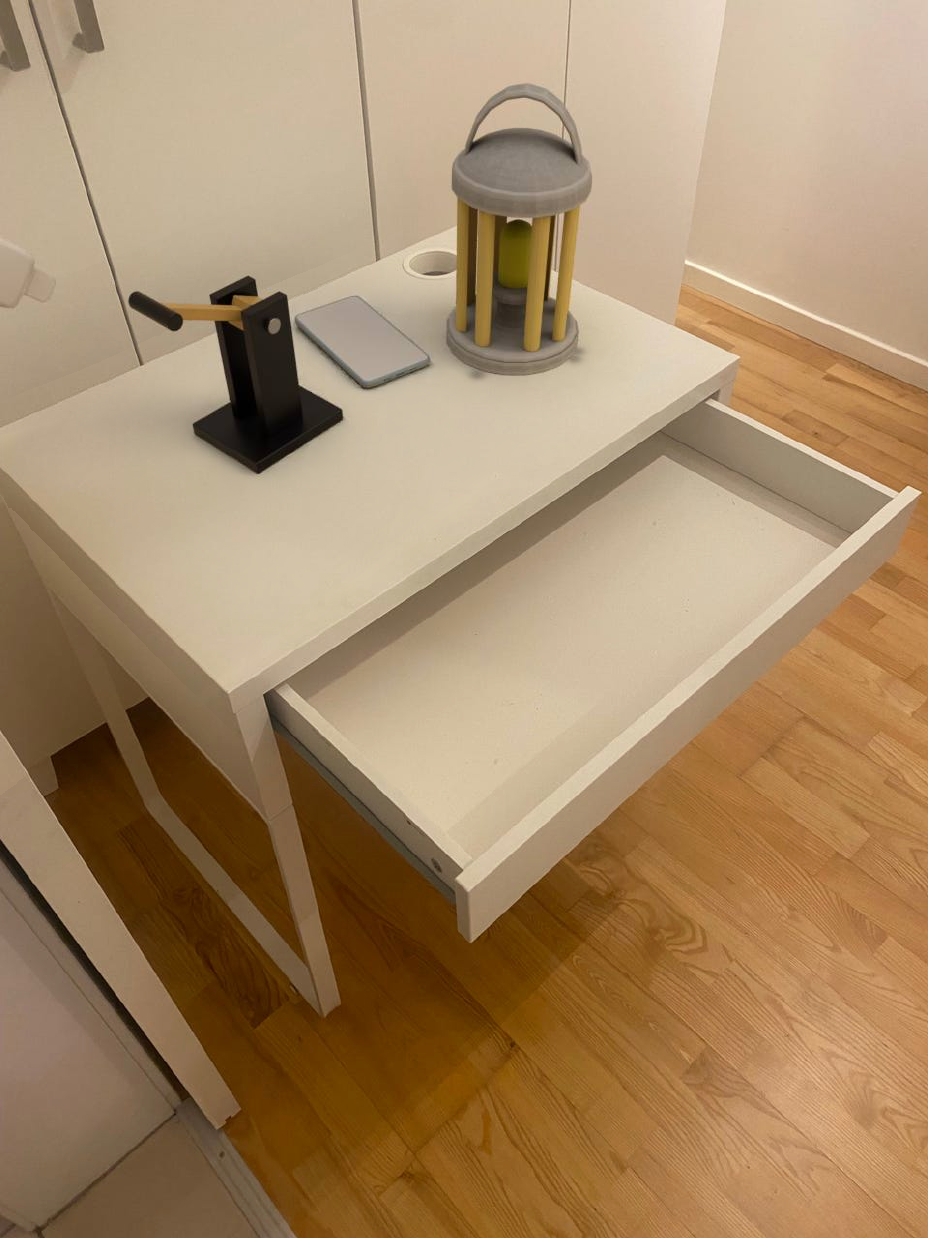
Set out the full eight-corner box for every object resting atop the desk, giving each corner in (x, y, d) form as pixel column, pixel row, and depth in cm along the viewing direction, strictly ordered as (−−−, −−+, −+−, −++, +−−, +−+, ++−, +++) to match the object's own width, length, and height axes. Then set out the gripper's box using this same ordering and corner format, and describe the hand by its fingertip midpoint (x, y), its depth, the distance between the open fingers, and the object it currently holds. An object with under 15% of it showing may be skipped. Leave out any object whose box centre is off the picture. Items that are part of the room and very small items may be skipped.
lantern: (435, 367, 99) (433, 110, 80) (457, 296, 108) (460, 52, 90) (572, 381, 98) (602, 124, 79) (582, 309, 107) (612, 63, 88)
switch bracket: (258, 474, 87) (233, 340, 77) (194, 433, 91) (162, 301, 81) (343, 419, 93) (331, 287, 83) (280, 383, 97) (261, 253, 86)
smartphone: (365, 384, 95) (290, 315, 103) (365, 392, 96) (291, 323, 104) (434, 357, 99) (357, 292, 106) (434, 366, 99) (357, 300, 107)
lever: (165, 337, 74) (170, 306, 73) (126, 314, 76) (130, 284, 75) (279, 337, 84) (285, 310, 83) (241, 317, 86) (246, 290, 85)
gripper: (-94, 162, 47) (119, 271, 60) (-281, 64, 56) (-61, 177, 68) (-139, 281, 48) (80, 364, 61) (-316, 167, 57) (-92, 260, 69)
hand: (4, 264), depth 65 cm, fingers open, 8 cm apart
